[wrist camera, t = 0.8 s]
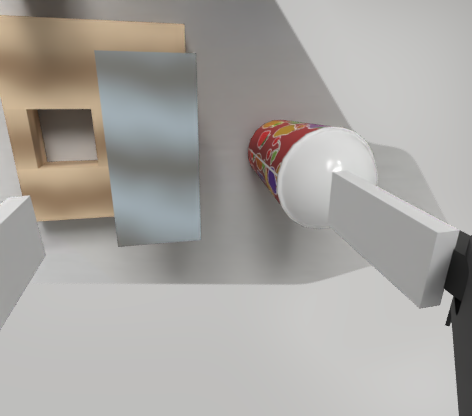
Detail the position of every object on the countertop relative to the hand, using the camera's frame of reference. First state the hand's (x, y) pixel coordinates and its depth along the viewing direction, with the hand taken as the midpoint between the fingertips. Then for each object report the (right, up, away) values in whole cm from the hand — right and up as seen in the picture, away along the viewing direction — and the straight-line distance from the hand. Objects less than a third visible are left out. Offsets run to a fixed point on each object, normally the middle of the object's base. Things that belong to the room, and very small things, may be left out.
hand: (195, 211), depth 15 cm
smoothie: (+6, +7, +24) cm, 26 cm away
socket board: (-11, +9, +19) cm, 24 cm away
